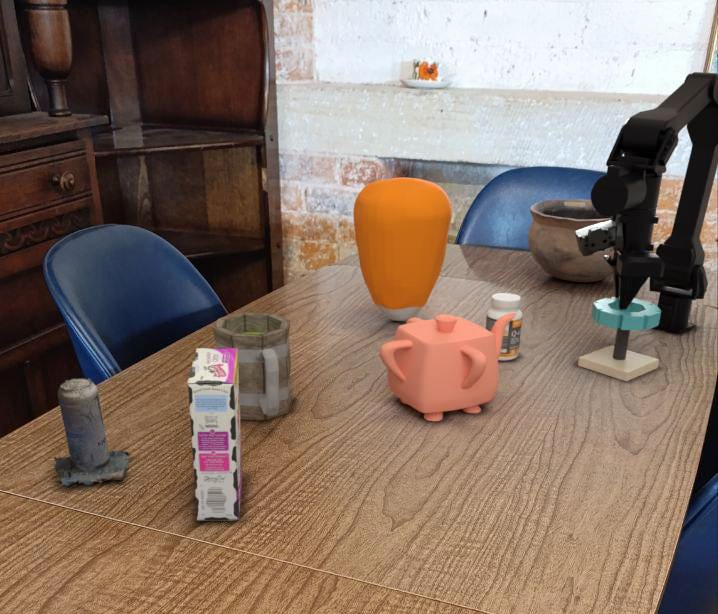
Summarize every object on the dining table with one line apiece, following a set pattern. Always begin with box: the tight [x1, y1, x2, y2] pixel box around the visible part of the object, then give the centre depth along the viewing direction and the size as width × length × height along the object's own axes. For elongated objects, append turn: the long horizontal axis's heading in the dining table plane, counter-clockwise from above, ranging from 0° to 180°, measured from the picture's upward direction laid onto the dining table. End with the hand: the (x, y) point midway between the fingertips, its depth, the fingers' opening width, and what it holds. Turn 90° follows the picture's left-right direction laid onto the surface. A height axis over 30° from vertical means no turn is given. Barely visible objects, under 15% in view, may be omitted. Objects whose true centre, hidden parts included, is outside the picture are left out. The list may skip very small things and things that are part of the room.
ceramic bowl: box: [527, 198, 613, 283], centre depth 185 cm, size 22×22×15 cm
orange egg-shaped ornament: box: [352, 177, 453, 322], centre depth 154 cm, size 17×17×25 cm
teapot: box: [378, 313, 517, 422], centre depth 123 cm, size 17×16×13 cm
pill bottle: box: [485, 292, 524, 362], centre depth 142 cm, size 6×6×10 cm
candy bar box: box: [187, 347, 243, 522], centre depth 97 cm, size 11×5×16 cm, turn 5°
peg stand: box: [577, 328, 660, 382], centre depth 139 cm, size 9×9×7 cm
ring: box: [591, 296, 661, 332], centre depth 137 cm, size 10×10×2 cm
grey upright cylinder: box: [53, 377, 131, 488], centre depth 103 cm, size 9×8×12 cm
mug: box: [212, 312, 293, 421], centre depth 120 cm, size 16×11×12 cm
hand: (621, 306), depth 140 cm, fingers closed on ring, 2 cm apart
